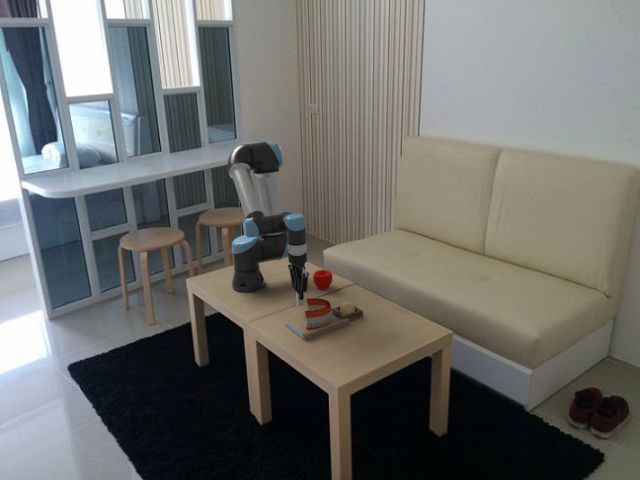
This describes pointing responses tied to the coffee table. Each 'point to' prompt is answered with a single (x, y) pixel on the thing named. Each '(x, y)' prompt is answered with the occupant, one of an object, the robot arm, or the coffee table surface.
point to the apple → (322, 279)
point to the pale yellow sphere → (347, 307)
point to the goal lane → (321, 330)
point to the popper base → (351, 316)
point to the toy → (317, 313)
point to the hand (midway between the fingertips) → (300, 305)
